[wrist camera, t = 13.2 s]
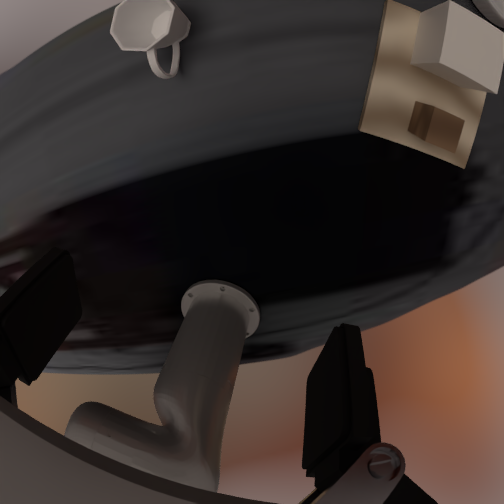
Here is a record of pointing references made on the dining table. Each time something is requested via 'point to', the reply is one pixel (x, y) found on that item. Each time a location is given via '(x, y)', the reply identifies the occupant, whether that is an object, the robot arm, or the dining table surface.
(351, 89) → the dining table surface
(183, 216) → the dining table surface
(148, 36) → the cup
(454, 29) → the matte grey cube
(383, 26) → the post board
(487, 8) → the ramekin
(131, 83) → the dining table surface
